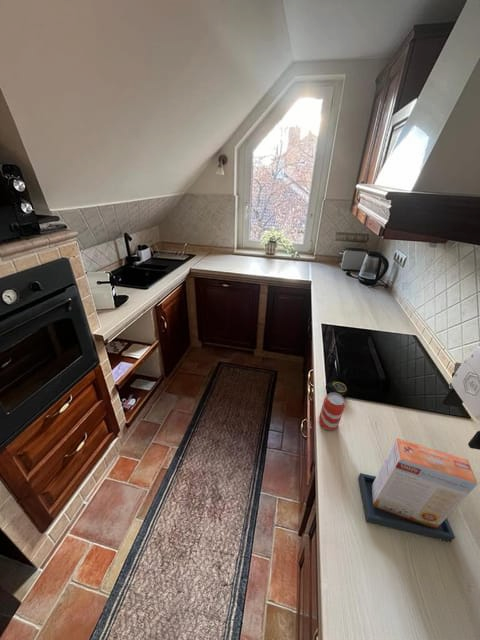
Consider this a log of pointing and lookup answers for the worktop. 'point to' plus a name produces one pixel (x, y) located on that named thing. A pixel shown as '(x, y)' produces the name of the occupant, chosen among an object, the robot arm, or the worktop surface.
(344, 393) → the tape measure
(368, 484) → the tray
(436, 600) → the worktop surface
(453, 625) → the worktop surface
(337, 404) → the beverage can
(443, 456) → the cracker box
